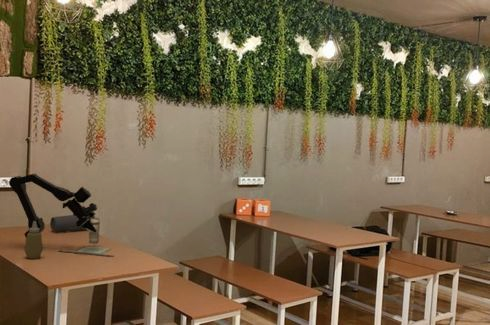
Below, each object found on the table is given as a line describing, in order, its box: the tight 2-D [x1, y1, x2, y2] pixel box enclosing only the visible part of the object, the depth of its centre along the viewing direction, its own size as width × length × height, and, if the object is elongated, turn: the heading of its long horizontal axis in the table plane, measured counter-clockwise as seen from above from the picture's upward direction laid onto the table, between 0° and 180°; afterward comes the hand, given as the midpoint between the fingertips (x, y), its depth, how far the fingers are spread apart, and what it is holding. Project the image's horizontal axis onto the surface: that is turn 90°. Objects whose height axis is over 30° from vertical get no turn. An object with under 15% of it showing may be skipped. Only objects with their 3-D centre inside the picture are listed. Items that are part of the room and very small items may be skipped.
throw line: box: [58, 250, 115, 258], centre depth 268 cm, size 30×2×1 cm, turn 80°
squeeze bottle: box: [24, 221, 44, 260], centre depth 255 cm, size 8×8×18 cm
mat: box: [75, 245, 111, 254], centre depth 277 cm, size 13×13×1 cm
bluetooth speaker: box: [49, 214, 86, 233], centre depth 325 cm, size 23×9×10 cm, turn 133°
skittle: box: [88, 217, 101, 245], centre depth 276 cm, size 5×5×13 cm
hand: (96, 230), depth 276 cm, fingers closed on skittle, 5 cm apart
